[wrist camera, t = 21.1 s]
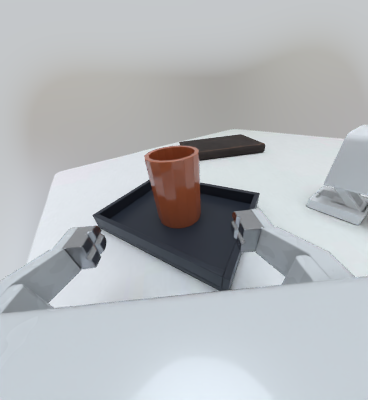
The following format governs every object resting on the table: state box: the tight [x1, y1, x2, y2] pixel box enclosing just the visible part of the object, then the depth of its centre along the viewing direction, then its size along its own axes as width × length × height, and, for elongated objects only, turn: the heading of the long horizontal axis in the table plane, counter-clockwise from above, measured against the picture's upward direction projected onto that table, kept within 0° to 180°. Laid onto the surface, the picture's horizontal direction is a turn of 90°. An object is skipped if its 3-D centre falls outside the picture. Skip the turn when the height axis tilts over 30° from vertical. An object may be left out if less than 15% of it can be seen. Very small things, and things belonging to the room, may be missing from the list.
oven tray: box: [93, 180, 260, 291], centre depth 22 cm, size 19×14×2 cm
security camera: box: [306, 125, 368, 225], centre depth 18 cm, size 6×7×10 cm
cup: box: [145, 146, 201, 228], centre depth 20 cm, size 6×6×9 cm
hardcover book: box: [179, 134, 265, 160], centre depth 48 cm, size 16×23×2 cm
